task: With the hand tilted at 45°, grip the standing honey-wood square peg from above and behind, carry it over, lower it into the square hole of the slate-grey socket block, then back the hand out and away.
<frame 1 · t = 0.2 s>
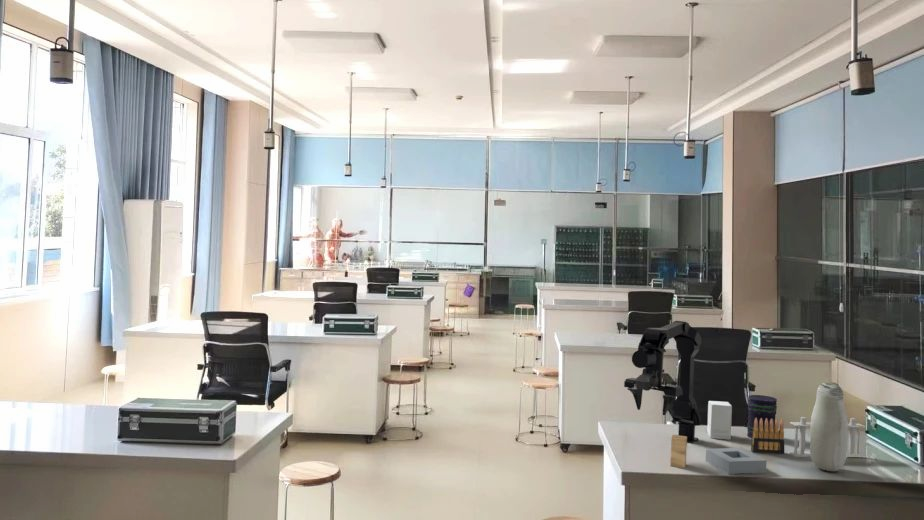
hand: (651, 412, 223), 14 cm above the table, tool pointing down, fingers open, 9 cm apart
white bottle: (826, 470, 214), on the table
socket: (735, 466, 214), on the table
storage jar: (761, 437, 250), on the table
peg: (678, 465, 213), on the table
ammunition clip: (767, 453, 231), on the table
test tube rack: (826, 456, 229), on the table
supplement box: (718, 436, 249), on the table
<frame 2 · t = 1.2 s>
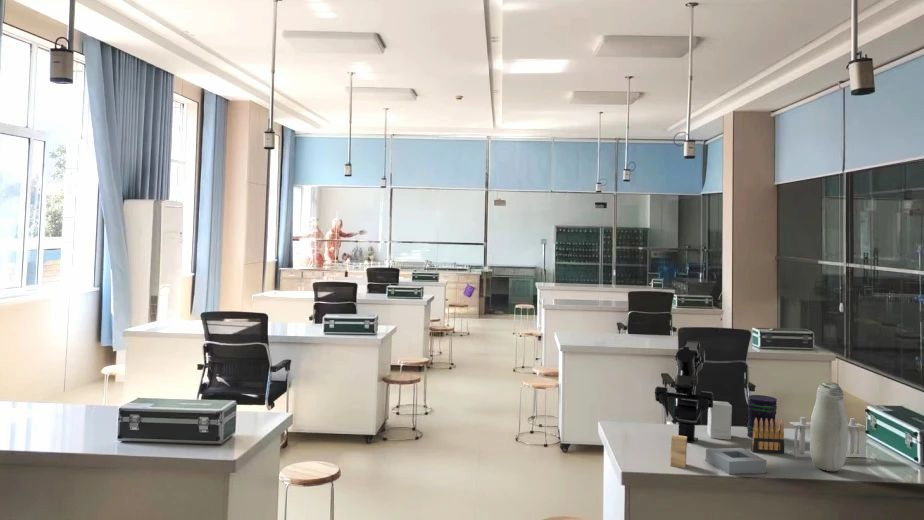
hand: (681, 418, 220), 13 cm above the table, tool tilted 45°, fingers open, 9 cm apart
nothing on the table moved.
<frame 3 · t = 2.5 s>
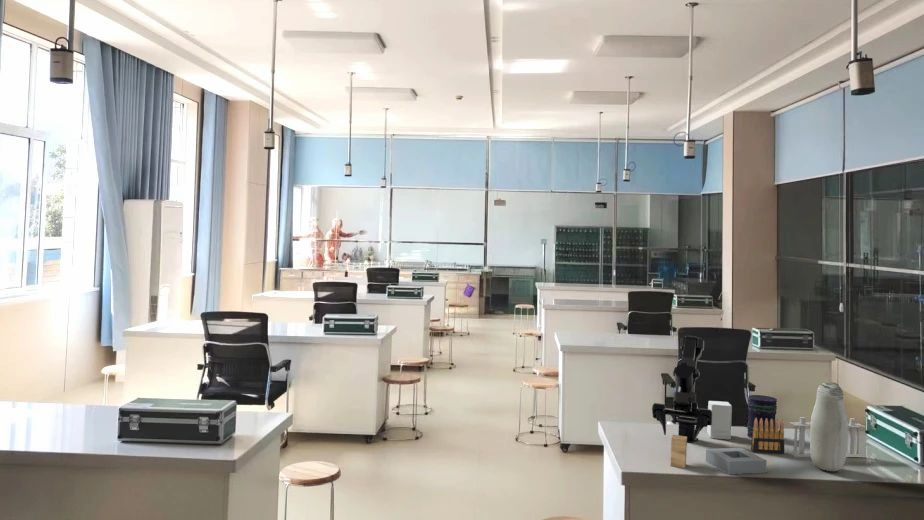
hand: (679, 436, 214), 9 cm above the table, tool tilted 45°, fingers open, 9 cm apart
nothing on the table moved.
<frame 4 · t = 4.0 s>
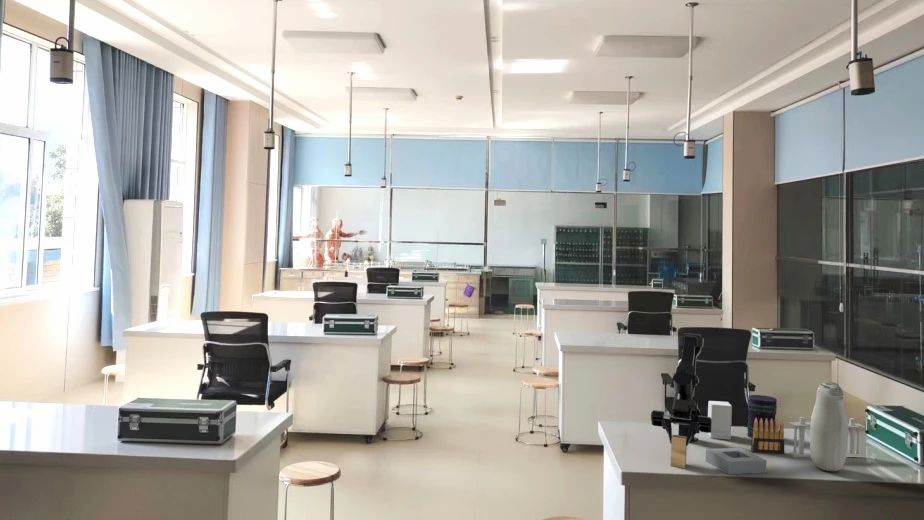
hand: (678, 444, 212), 7 cm above the table, tool tilted 45°, fingers closed on peg, 4 cm apart
peg: (678, 464, 213), on the table, touching gripper
everything else where it was.
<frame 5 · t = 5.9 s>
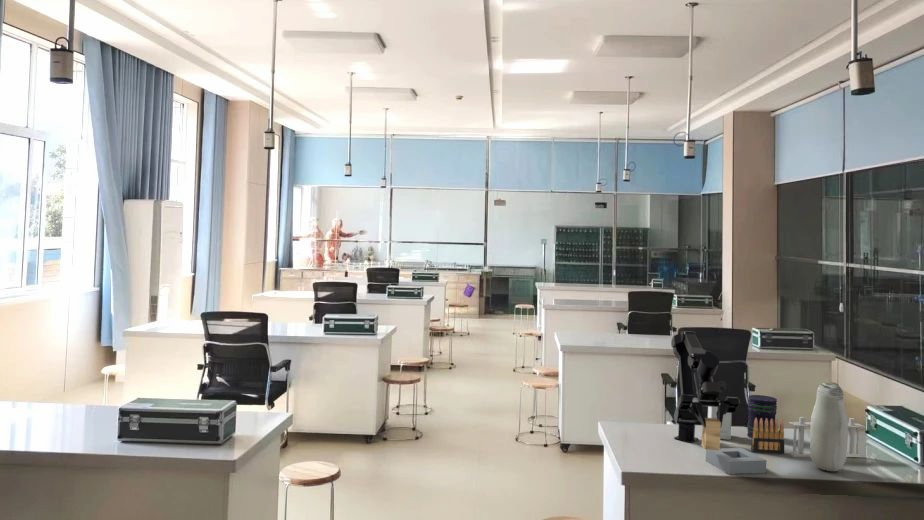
hand: (712, 426, 211), 13 cm above the table, tool tilted 45°, fingers closed on peg, 4 cm apart
peg: (710, 447, 212), point 6 cm above the table, touching gripper
everything else where it was.
when the fingers open (9 cm above the table, at t = 8.0 s): peg drops 1 cm, resting on socket.
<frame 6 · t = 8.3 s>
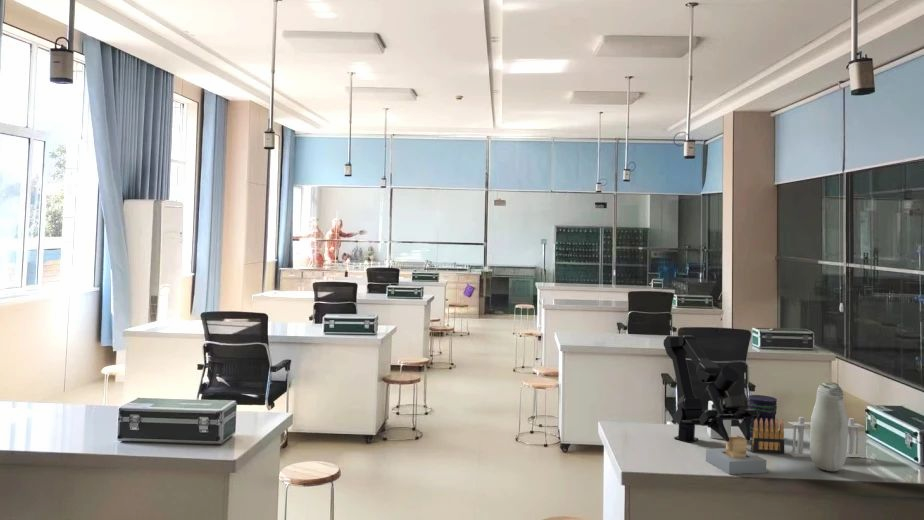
hand: (738, 440, 212), 9 cm above the table, tool tilted 45°, fingers open, 7 cm apart
peg: (735, 465, 213), resting on socket
everything else where it was.
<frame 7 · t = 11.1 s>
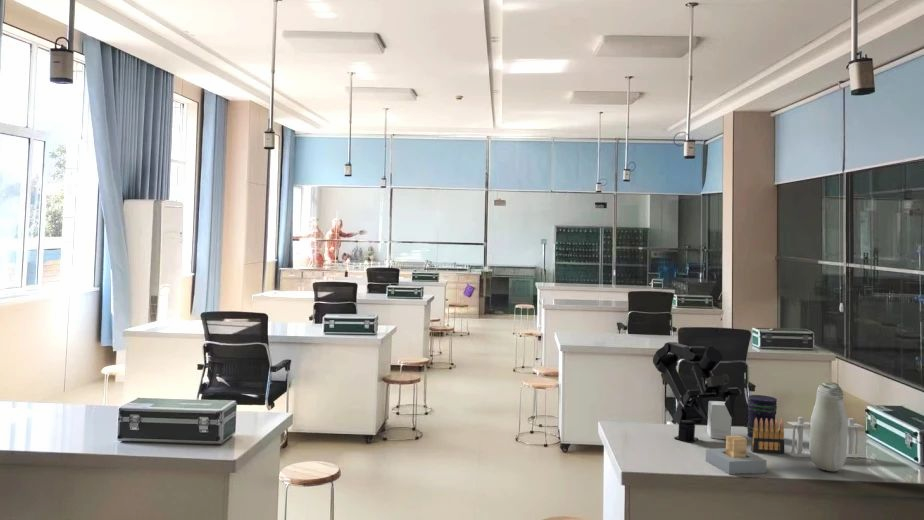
hand: (720, 418, 222), 13 cm above the table, tool tilted 40°, fingers open, 9 cm apart
nothing on the table moved.
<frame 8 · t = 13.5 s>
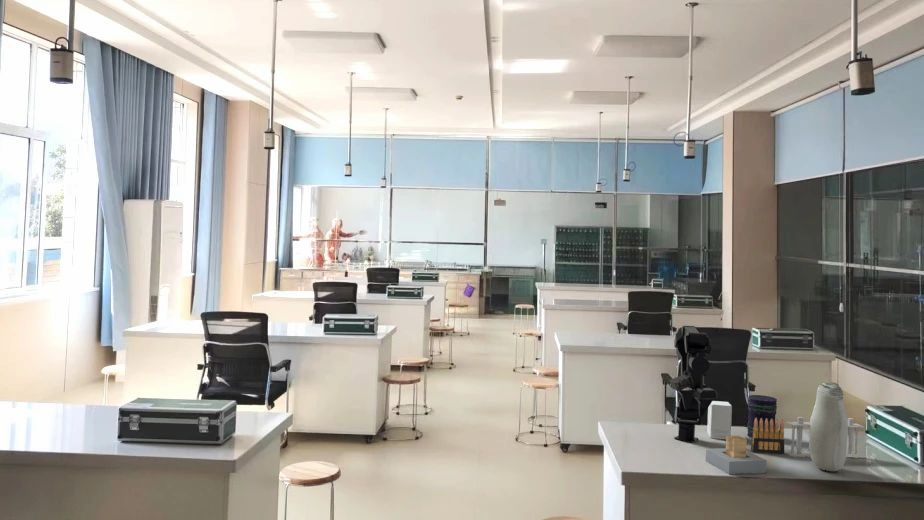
hand: (693, 413, 229), 13 cm above the table, tool pointing down, fingers open, 9 cm apart
nothing on the table moved.
at the end: peg 0.0 cm off-centre on the socket, point 0.5 cm above the socket's base; peg tilted 0°; the gripper is holding nothing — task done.
